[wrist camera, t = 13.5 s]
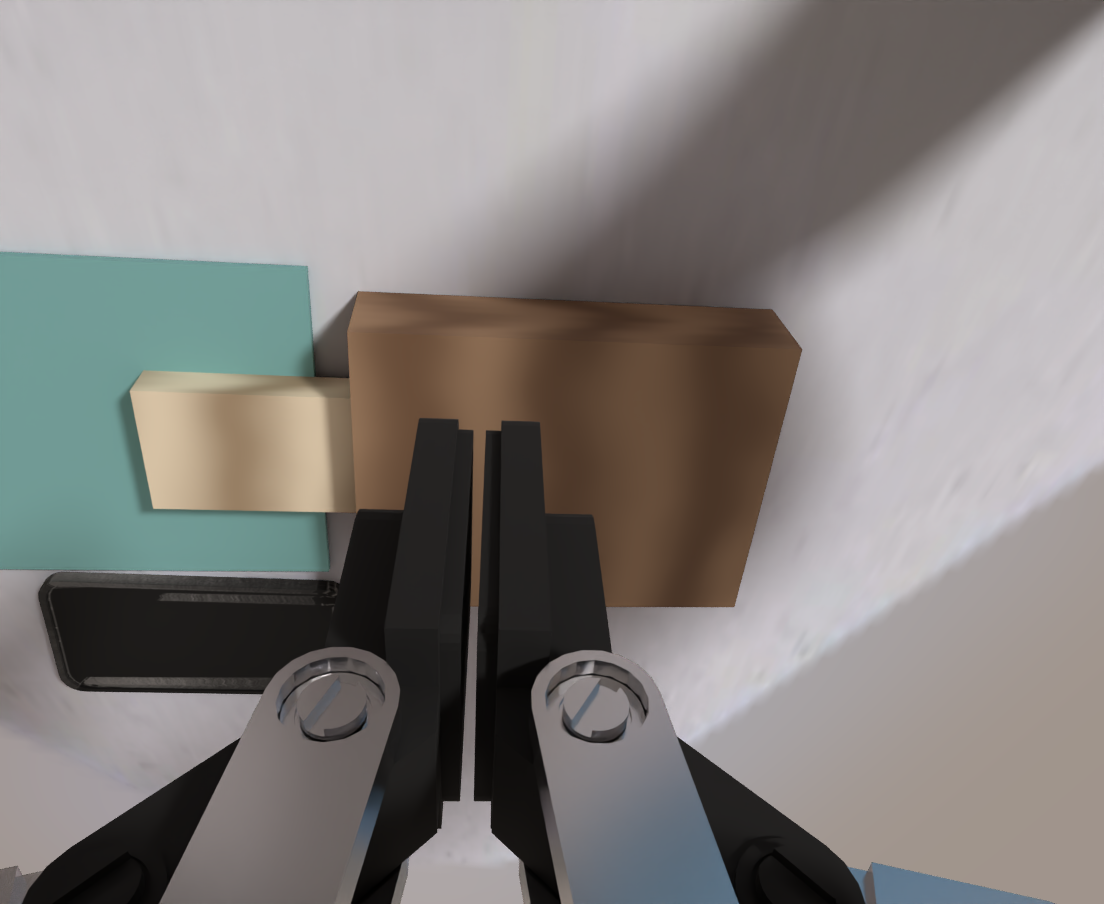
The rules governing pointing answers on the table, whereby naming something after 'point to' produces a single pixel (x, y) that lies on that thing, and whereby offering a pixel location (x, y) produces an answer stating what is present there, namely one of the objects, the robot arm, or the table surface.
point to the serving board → (589, 421)
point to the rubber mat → (107, 412)
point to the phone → (181, 630)
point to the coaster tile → (246, 441)
